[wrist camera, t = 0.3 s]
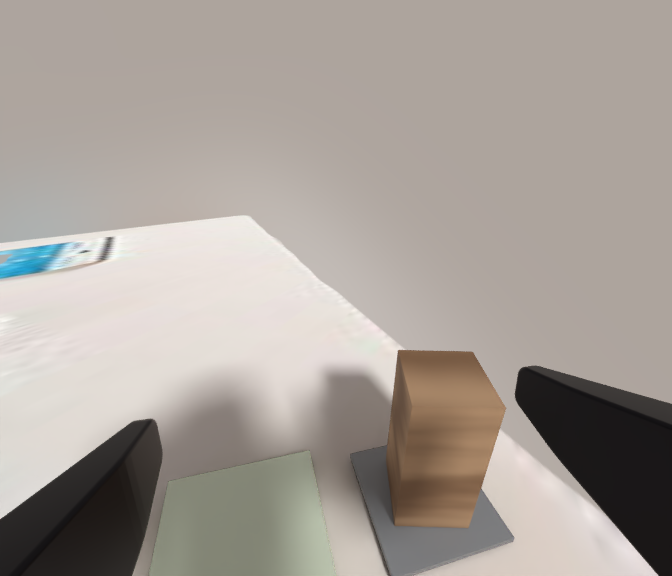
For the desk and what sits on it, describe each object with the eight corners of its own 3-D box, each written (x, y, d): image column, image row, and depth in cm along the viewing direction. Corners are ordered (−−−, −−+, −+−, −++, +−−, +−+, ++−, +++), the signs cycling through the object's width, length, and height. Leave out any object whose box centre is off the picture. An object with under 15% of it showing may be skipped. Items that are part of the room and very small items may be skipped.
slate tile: (512, 541, 20) (514, 537, 20) (392, 582, 18) (393, 577, 18) (442, 435, 27) (443, 432, 27) (350, 457, 25) (350, 453, 25)
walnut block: (468, 528, 20) (505, 408, 16) (394, 525, 20) (412, 405, 16) (447, 461, 24) (472, 351, 20) (385, 459, 24) (398, 349, 20)
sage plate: (345, 623, 17) (345, 619, 16) (125, 702, 14) (122, 698, 14) (309, 454, 25) (309, 450, 25) (169, 485, 23) (168, 481, 23)
